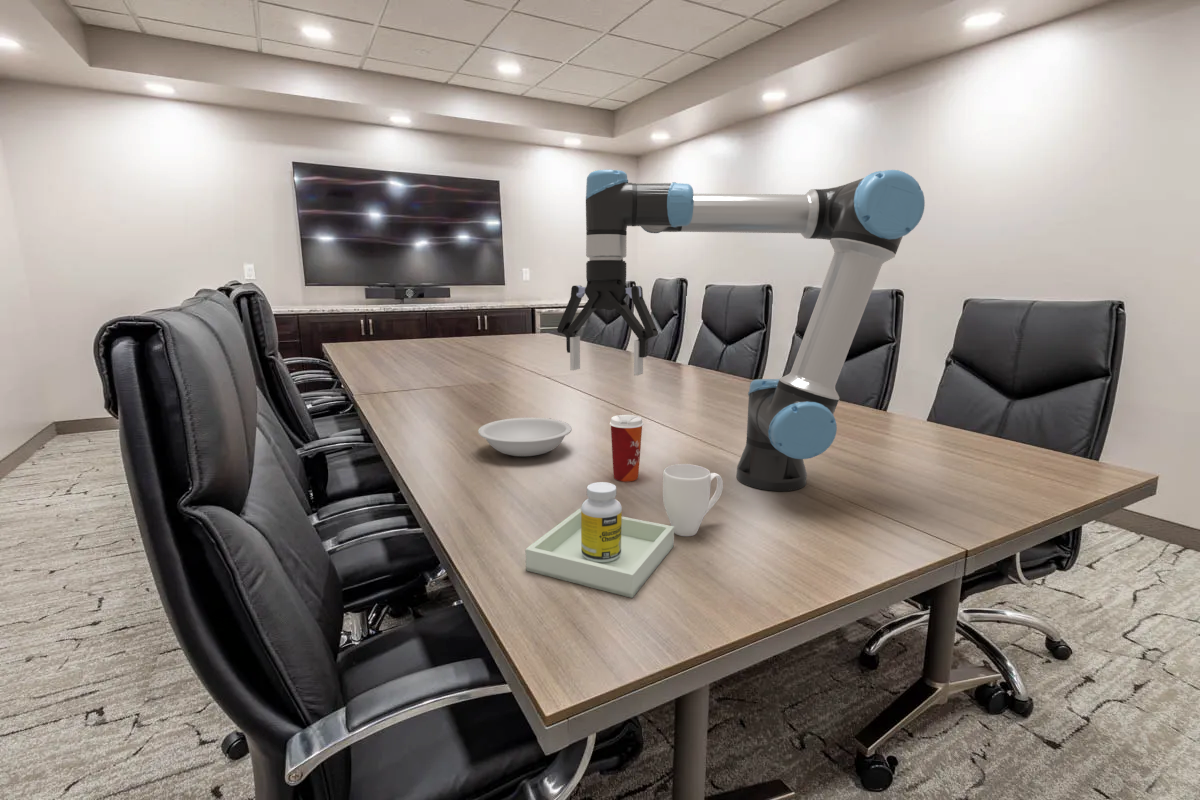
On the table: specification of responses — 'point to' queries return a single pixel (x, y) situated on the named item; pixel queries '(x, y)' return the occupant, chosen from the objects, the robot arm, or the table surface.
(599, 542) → the pill bottle
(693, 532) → the mug
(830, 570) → the table surface
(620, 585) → the tray
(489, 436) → the soup bowl
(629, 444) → the paper cup
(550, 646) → the table surface
